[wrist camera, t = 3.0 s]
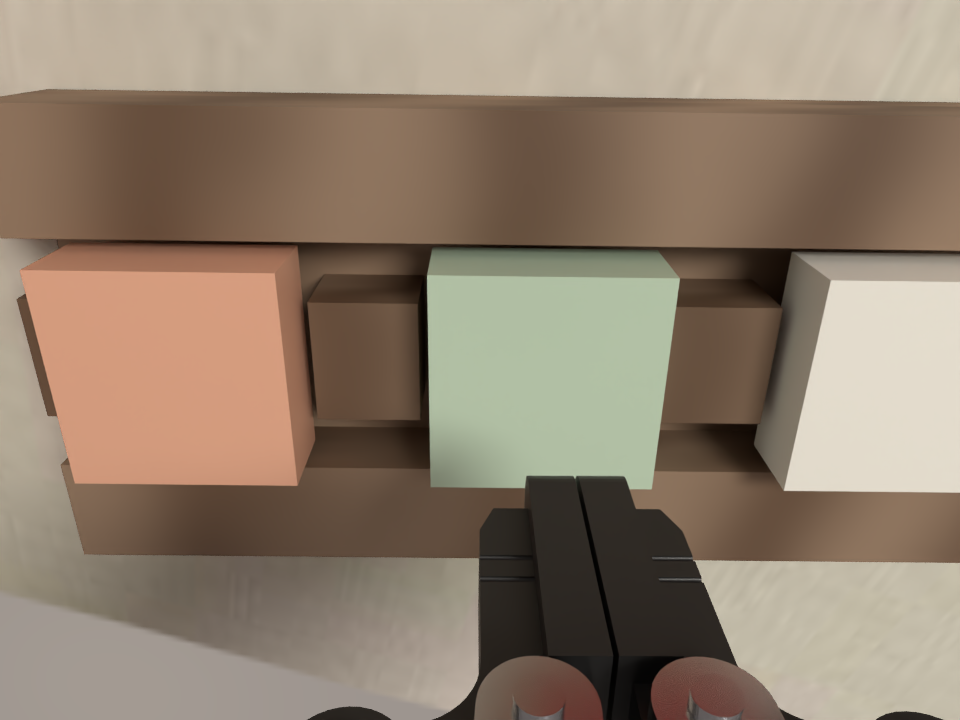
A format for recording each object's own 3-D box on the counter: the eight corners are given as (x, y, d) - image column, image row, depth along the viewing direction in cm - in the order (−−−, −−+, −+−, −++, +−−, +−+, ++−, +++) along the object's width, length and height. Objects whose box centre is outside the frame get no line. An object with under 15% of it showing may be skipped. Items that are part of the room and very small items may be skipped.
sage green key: (657, 249, 16) (680, 278, 15) (634, 443, 18) (651, 489, 17) (432, 246, 16) (427, 275, 14) (435, 441, 18) (430, 487, 17)
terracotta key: (297, 245, 16) (274, 273, 14) (315, 439, 18) (297, 485, 17) (70, 242, 16) (19, 270, 14) (114, 437, 18) (74, 483, 17)
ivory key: (1015, 254, 16) (1082, 283, 15) (951, 446, 18) (1003, 492, 17) (791, 251, 16) (830, 280, 15) (753, 444, 18) (783, 490, 17)
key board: (1035, 103, 17) (1141, 119, 14) (913, 495, 22) (975, 562, 19) (46, 89, 17) (-36, 102, 14) (134, 486, 22) (84, 554, 19)
